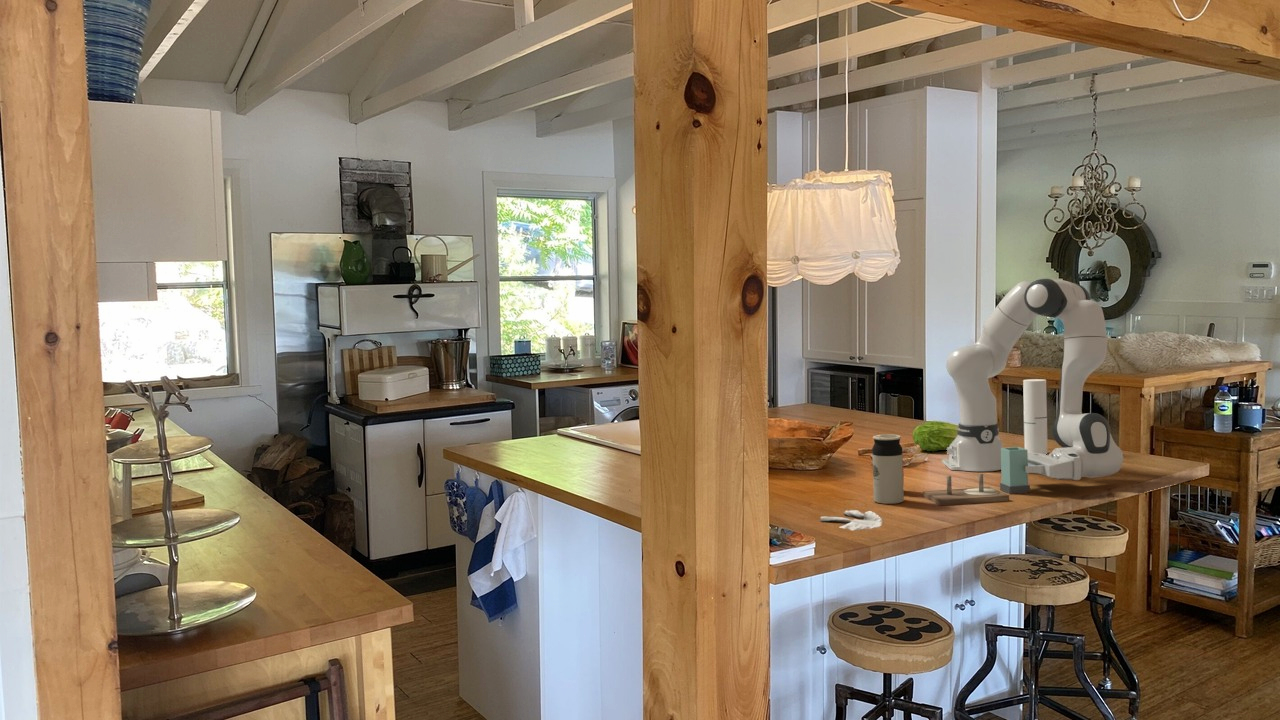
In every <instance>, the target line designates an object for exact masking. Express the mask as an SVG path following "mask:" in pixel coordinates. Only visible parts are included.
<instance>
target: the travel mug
mask: <svg viewBox="0 0 1280 720" xmlns="http://www.w3.org/2000/svg"><path fill="white" fill-rule="evenodd" d="M872 439H873V440H874V444H873V446H872V449H871V450H872V453H871V454H872V457H871V458H872V482H873V485H872V486H873V487H872V490H873V501H874V502H875V503H877V504H882V505H896V504H901V503H902V502H904V501H905V500H904V486H903V474H904V457H902V456H903V447H902V446H901V443H900V442H901V439H902V436H901V435H900V434H899V435H898V434H876V435H873V436H872Z"/></svg>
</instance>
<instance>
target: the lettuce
mask: <svg viewBox="0 0 1280 720" xmlns="http://www.w3.org/2000/svg"><path fill="white" fill-rule="evenodd" d="M958 426H959V425H958V424H955V423H952V422H951V423H950V422H947V421H941V420H940V421H939V420H928V421H926V422H923V423H922V424H919V425H918V426H916V427H915V428H914V430H913V432H912V440H913V443H914V445H915V444H918V445H919V446H920V448H921V449H920V450H922V451H925V450H927V451H926V452H930V451H932V452H937V451H936V450H947V447H949V446H950V444H951V443H952V442H953V441H954V440H955V438H956V437H957V436H958V434H957V432H958Z"/></svg>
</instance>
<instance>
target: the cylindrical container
mask: <svg viewBox="0 0 1280 720" xmlns="http://www.w3.org/2000/svg"><path fill="white" fill-rule="evenodd" d="M1022 382H1023V383H1022V384H1023V385H1022V388H1023V391H1022V392H1023V429H1024V430H1023V432H1024V434H1023V435H1024V436H1023V437H1024V438H1023V439H1024V449H1027V451H1028V453H1042V454H1047V453H1049V452H1048V451H1049V450H1048V413H1047V412H1048V410H1047V409H1048V408H1047V406H1048V404H1047V401H1048V400H1047V398H1048V397H1047V379H1043V378H1042V379H1041V378H1040V379H1039V378H1031V379H1030V378H1029V379H1023V380H1022ZM1047 455H1048V454H1047Z"/></svg>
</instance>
